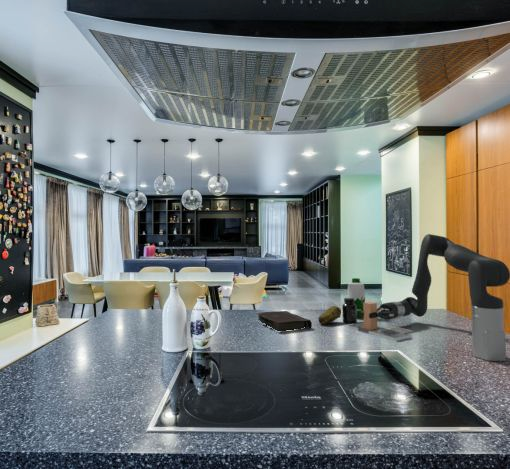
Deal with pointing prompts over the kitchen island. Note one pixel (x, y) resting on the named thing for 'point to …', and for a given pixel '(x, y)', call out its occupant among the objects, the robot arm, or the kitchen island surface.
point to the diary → (283, 320)
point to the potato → (330, 315)
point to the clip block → (368, 308)
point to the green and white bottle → (357, 294)
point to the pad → (400, 329)
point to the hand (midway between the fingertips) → (365, 314)
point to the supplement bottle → (349, 311)
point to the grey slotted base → (381, 332)
